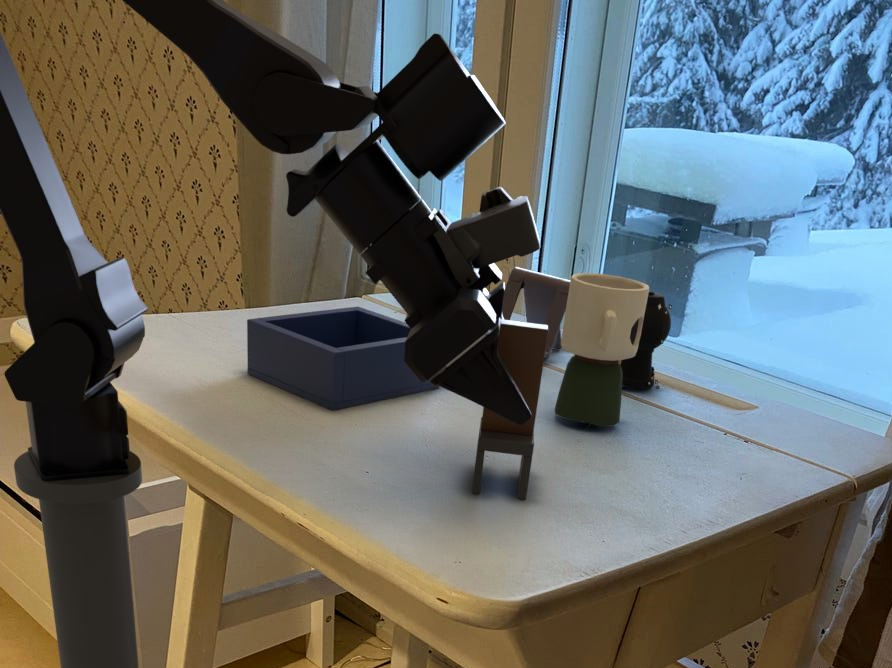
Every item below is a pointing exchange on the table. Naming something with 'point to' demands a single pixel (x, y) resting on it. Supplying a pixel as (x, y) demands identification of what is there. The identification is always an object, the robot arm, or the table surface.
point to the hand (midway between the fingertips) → (527, 402)
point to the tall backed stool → (525, 364)
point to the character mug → (599, 345)
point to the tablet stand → (539, 301)
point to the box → (333, 356)
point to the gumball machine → (647, 344)
